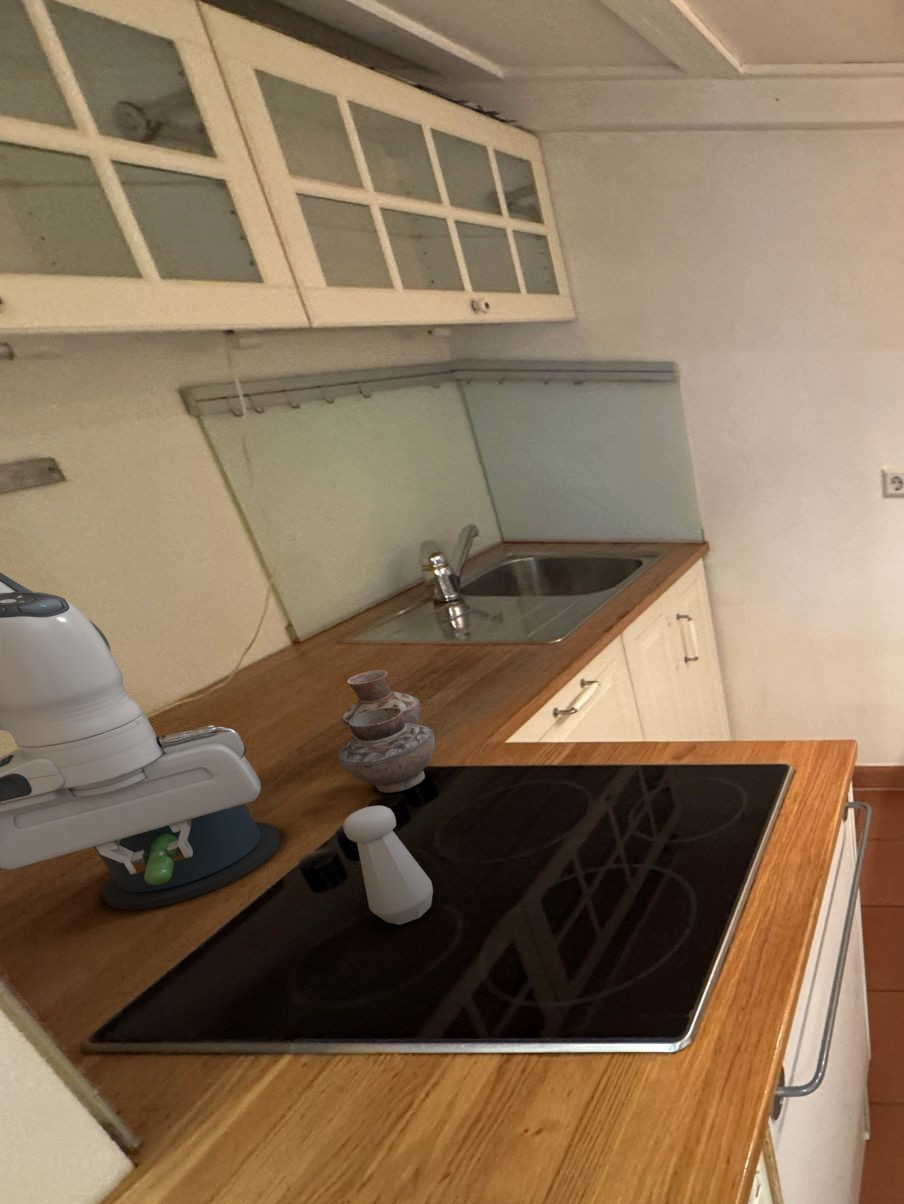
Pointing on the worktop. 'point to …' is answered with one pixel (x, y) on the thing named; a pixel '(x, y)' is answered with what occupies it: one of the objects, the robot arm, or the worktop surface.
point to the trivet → (198, 887)
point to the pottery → (385, 735)
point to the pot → (211, 842)
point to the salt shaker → (388, 867)
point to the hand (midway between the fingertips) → (163, 863)
